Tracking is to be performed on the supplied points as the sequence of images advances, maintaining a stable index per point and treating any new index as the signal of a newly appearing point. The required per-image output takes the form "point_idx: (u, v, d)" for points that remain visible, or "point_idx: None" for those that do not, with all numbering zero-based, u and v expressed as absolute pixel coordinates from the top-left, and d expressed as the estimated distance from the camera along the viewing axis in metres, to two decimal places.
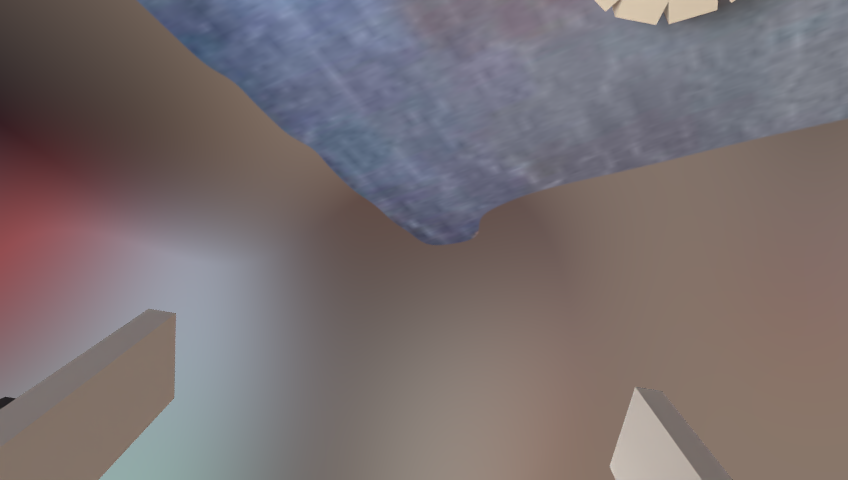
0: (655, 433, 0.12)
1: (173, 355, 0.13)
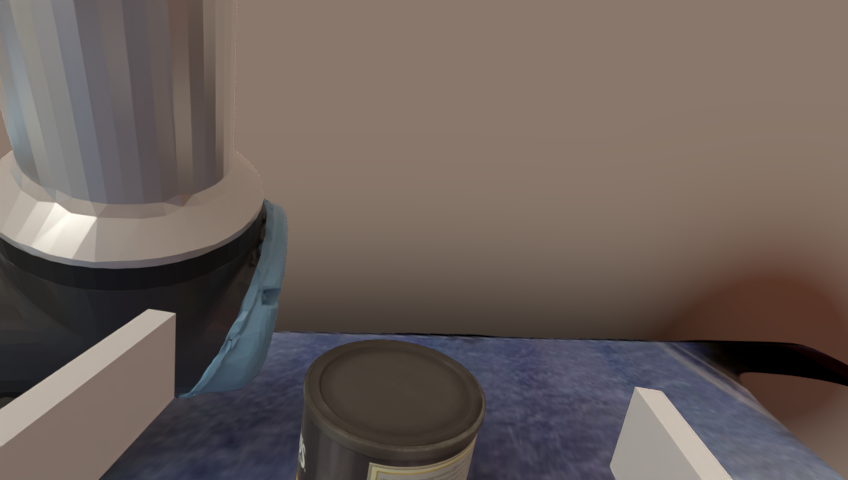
0: (655, 433, 0.12)
1: (173, 355, 0.13)
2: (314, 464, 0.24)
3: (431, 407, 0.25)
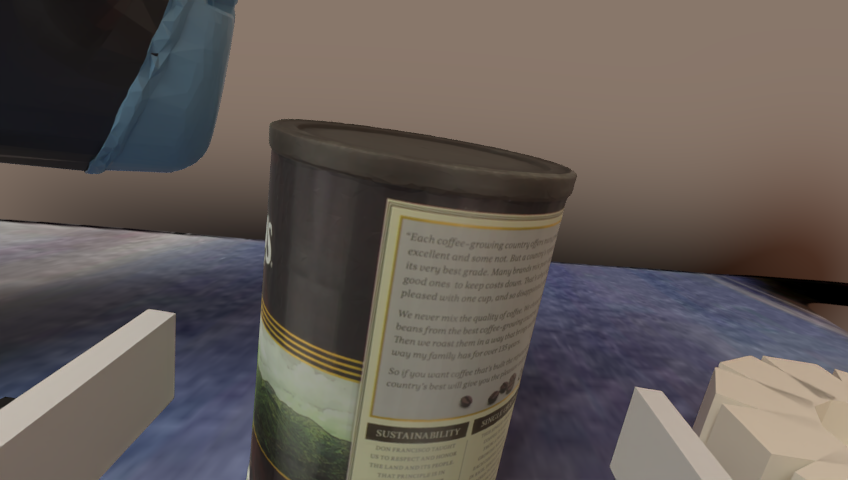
0: (655, 433, 0.12)
1: (173, 355, 0.13)
2: (286, 238, 0.13)
3: (488, 162, 0.15)
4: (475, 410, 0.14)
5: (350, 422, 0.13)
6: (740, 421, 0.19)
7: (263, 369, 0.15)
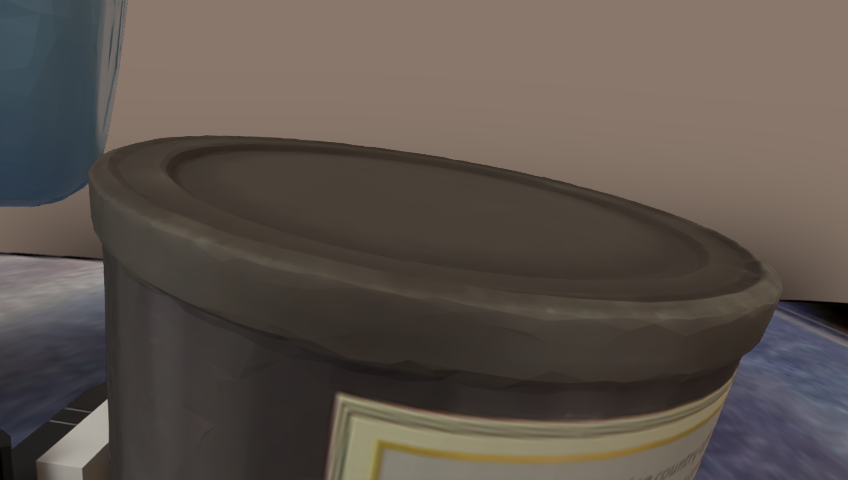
0: None
1: None
2: (116, 425, 0.06)
3: (572, 229, 0.07)
4: None
5: None
6: None
7: None
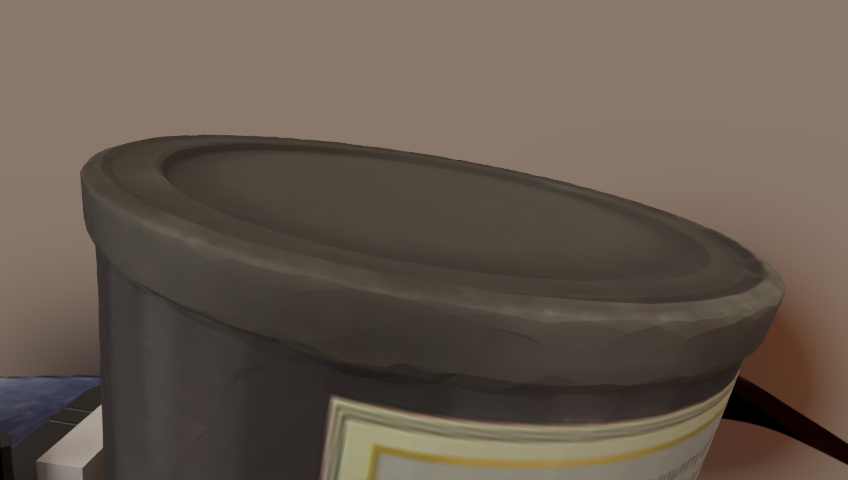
0: None
1: None
2: (110, 428, 0.06)
3: (571, 229, 0.07)
4: None
5: None
6: None
7: None
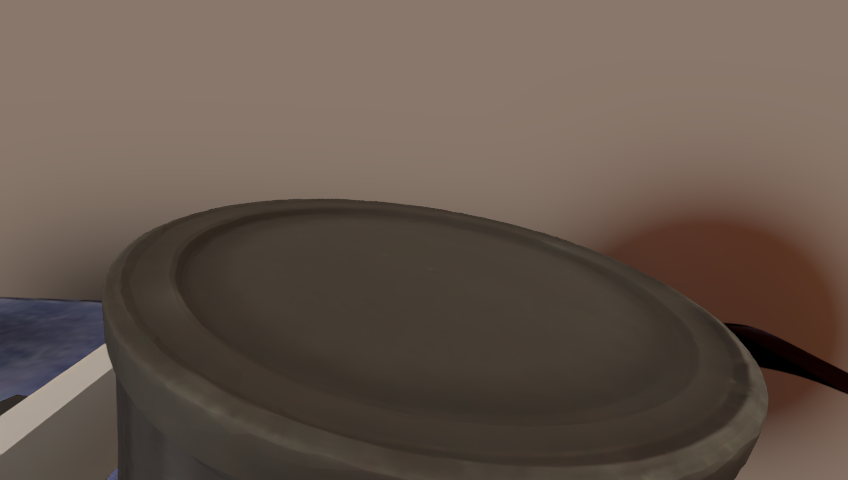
0: None
1: None
2: None
3: (568, 322, 0.07)
4: None
5: None
6: None
7: None
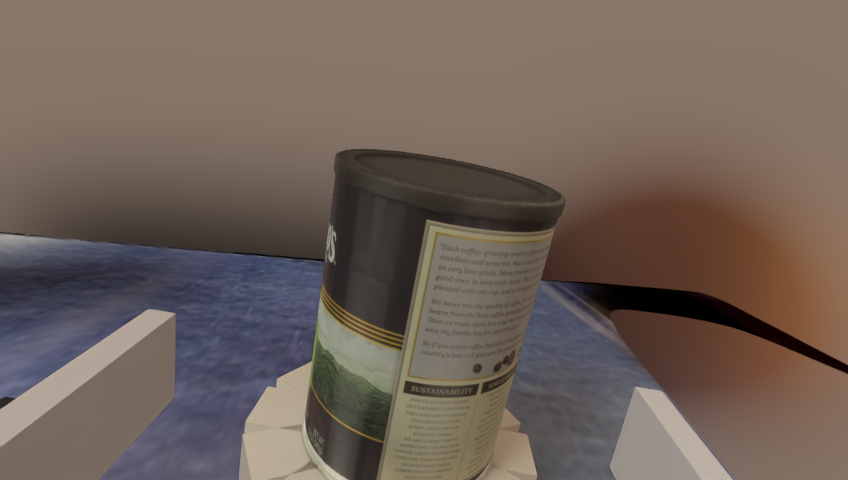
0: (655, 433, 0.12)
1: (173, 355, 0.13)
2: (349, 244, 0.18)
3: (498, 189, 0.20)
4: (484, 375, 0.19)
5: (392, 380, 0.18)
6: (260, 399, 0.25)
7: (324, 341, 0.20)
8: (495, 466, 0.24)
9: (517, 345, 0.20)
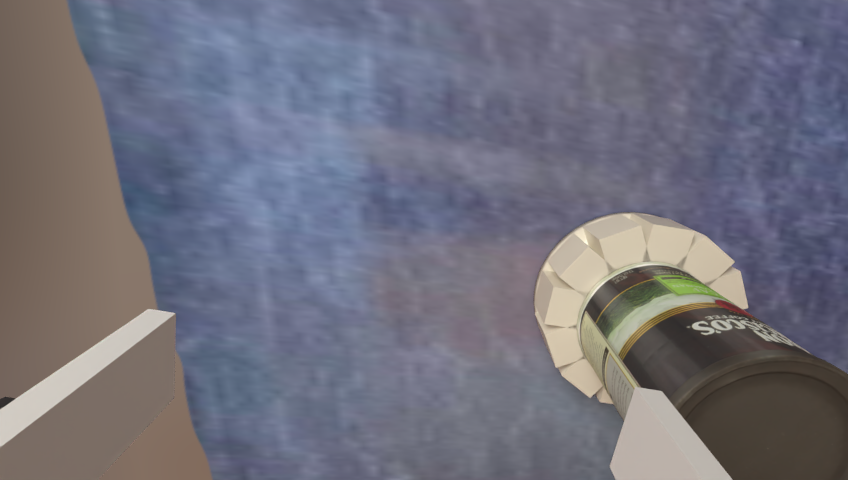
0: (655, 433, 0.12)
1: (173, 355, 0.13)
2: (682, 344, 0.24)
3: None
4: (611, 398, 0.30)
5: (611, 343, 0.30)
6: (678, 228, 0.34)
7: (657, 300, 0.29)
8: None
9: None
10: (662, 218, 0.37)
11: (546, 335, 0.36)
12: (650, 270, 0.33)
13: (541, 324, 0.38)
